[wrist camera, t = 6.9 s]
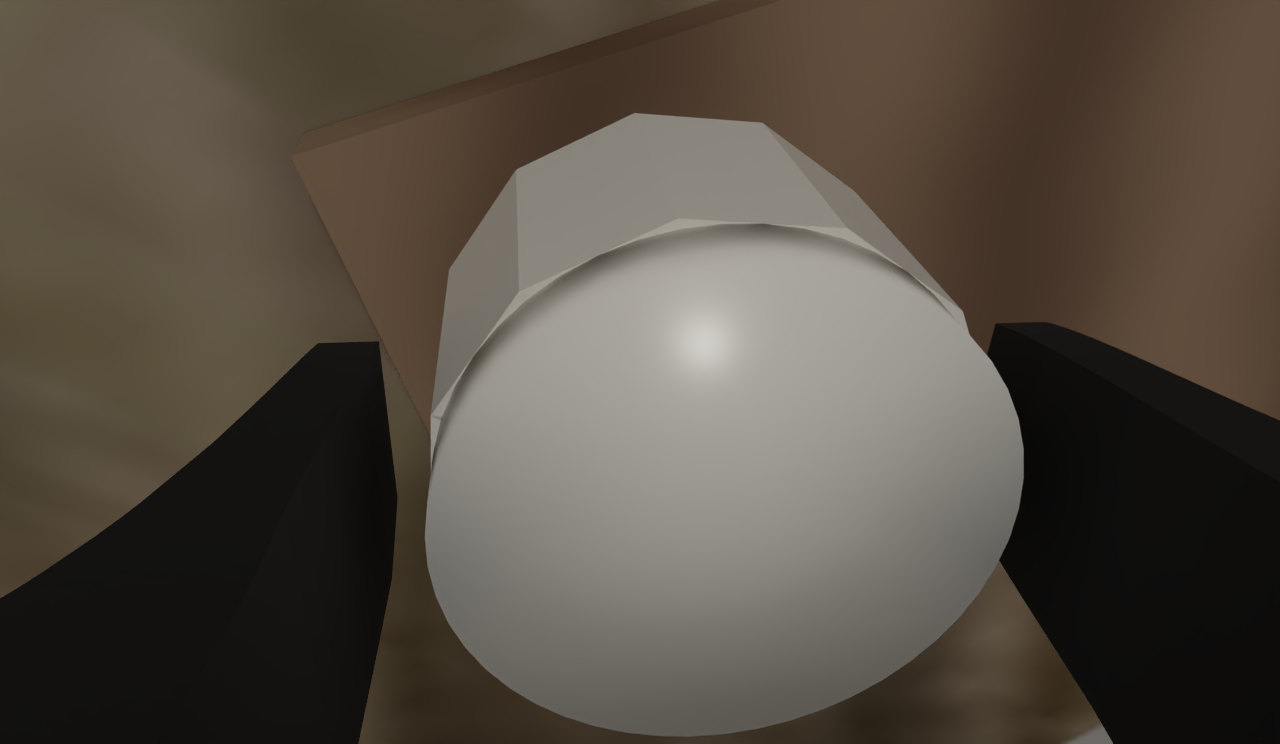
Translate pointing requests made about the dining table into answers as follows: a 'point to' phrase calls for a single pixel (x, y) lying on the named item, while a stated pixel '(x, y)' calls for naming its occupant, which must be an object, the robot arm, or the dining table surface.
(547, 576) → the cap
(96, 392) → the dining table surface
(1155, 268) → the post board
